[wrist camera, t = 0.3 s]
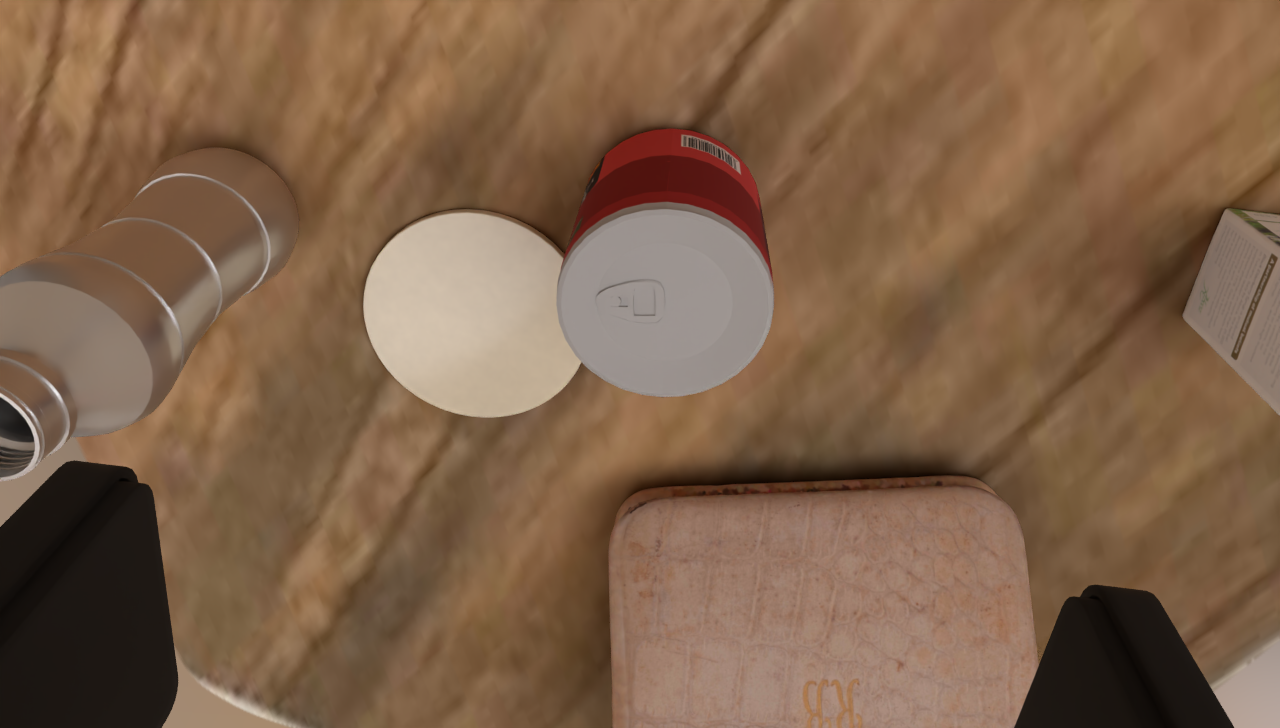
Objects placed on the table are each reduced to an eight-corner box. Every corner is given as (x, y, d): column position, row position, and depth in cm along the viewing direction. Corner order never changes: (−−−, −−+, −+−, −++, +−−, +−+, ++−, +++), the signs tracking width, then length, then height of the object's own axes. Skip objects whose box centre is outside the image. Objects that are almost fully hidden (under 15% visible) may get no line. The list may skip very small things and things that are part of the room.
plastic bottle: (160, 127, 46) (-171, 322, 29) (310, 142, 46) (71, 347, 29) (178, 259, 49) (-111, 508, 32) (318, 273, 49) (107, 531, 32)
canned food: (563, 146, 46) (526, 237, 36) (739, 101, 44) (750, 183, 35) (610, 298, 49) (588, 418, 39) (775, 261, 48) (794, 376, 38)
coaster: (365, 192, 47) (362, 196, 47) (602, 226, 47) (601, 230, 47) (365, 396, 52) (362, 401, 52) (578, 426, 53) (577, 431, 52)
